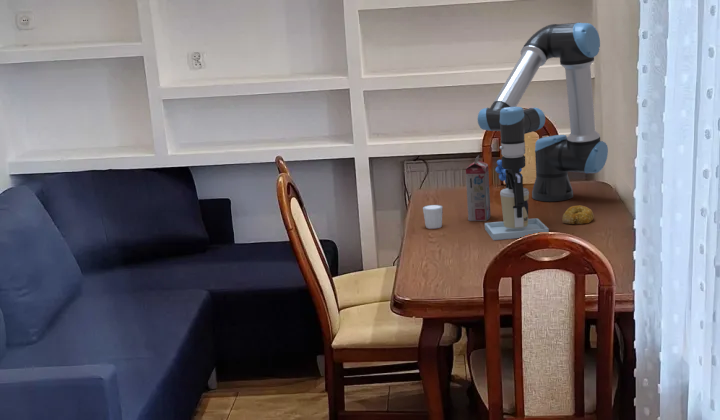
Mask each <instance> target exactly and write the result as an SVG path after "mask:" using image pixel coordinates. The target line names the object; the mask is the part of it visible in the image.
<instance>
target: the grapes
mask: <svg viewBox="0 0 720 420" xmlns="http://www.w3.org/2000/svg"><path fill="white" fill-rule="evenodd" d="M496 165H497V166H496V167H495V169H494V170H495V172H496V174H498V180H500V181H502V182H505V184H506V172H505V170H506V169H504V168H502V159H497V161H496ZM522 170H523V168H520V169H519V171H520V173H521V172H522ZM521 176H522V177H523V174H522V173H521ZM523 178H524V177H523Z"/></svg>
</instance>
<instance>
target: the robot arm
mask: <svg viewBox="0 0 720 420" xmlns="http://www.w3.org/2000/svg"><path fill="white" fill-rule="evenodd" d="M600 48H601V40H600V35H599V32H598V30H597V28H596V27H595V26H594V25H593V24H591V23H590V22H589V23H588V22H570V23H569V22H568V23H552V24H548V25H545V26H543V27H542V28H540V29H538V30H537V31H536V32H535V33H534V34H532V35H531V36H530V37H529V38H528V39H527V40H526V42H525V43H524V45H523V47H522V48H521V50H520V57H519V58H518V61H517V62H516V64H515V66H514V68H512V70H511V72H510V74H509V75H508V77H507V79H506V81H505V82H504V84H503V86H502V87H501V89H500V91H499V92H498V94H497V96H496V97H495V98H494V101H493V102H492V104H491V106H490V107H484V108H481V109H480V110H479V111H478V114H477V124H478V126H479V128H480V129H481V130H484V131H489V132H490V131H491V132H494V131H495V132H500V146H499V150H501V155H502V156H501V160H502V168H504V169H506V170H505V172H506V183H505V189H506V188H508V189H513V193H514V203H515V206H513V208H514V220H515V227H524V225H523V207H524V206H525V204H524V192H523V188H524V184H523V183H524V180H523V179H524V177H522V176H523V175H522V176H521V174H522V173H521V172H520V171H519V169H520V168H522V169H523V168H525V167H526V156H525V154H526V142H525V135H526V134H530V133H533V132H536V131H538V130H540V129H542V128H543V127H544V126H545V123H546V116H545V115H546V114H545V112H544V111H543V110H542V109H540V108H539V107H530V108H529V107H528V108H525V109H524V108H523V107H521V106H518V104H519V102H520V101H521V99H522V97H523V96H524V95H525V93H526V91H527V89H528V87H529V85H530V84H531V82H532V81H533V79H534V78H535V75H536V74H537V72H538V70H539V69H540V67H542V66H544V65H545V64H546V62H547V60H548V61H549V59H552V58H556V59H557V58H558V59H559V63H560V66H562V68H564V70H565V80H566V84H565V85H566V94H567V105H568V116H569V128H570V129H569V130H570V134H569V135H568V136H567V134H555V135H549V136H545V137H541V138H538V139H537V140H536V141H535V143H534V144H535V145H534V147H535V148H534V153H535V154H534V156H535V177H536V178H535V181H534V184H533V188H532V190H531V198H532V199H533V200H535V201H541V202H561V201H568V200H569V199H570V200H571V199H572V198H574V191H573V187H572V184H571V182H570V178H569V176H568V175H569V174H568V173H569V172H571V173H572V172H573V173H582V174H583V173H584V174H597V173H599V172H601V171H602V170H603V168H604V166H605V165H606V163H607V159H608V156H609V155H608V154H609V148H608V144H607V143H606V141H603V140H601V134H600V133H599V132H598V131H597V130H596V125H595V123H596V122H595V107H594V99H593V98H594V97H593V83H592V82H593V81H592V72H591V69H592V68H591V65H592V63H594V61H595V57H597V56H598V54H599V52H600Z"/></svg>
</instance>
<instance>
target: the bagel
mask: <svg viewBox="0 0 720 420" xmlns="http://www.w3.org/2000/svg"><path fill="white" fill-rule="evenodd" d="M593 219H594V213H593V210H592V209H591V208H589V207H587V206H584V205H579V204H578V205H572V206H569V207H568V208H567V209H566V210H565V212H564V213H563V214H562V220H561V221H562V223H563V224H566V225H567V224H569V225H574V224H577V225H585V224H589V223H591V222H592V221H593Z"/></svg>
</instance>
